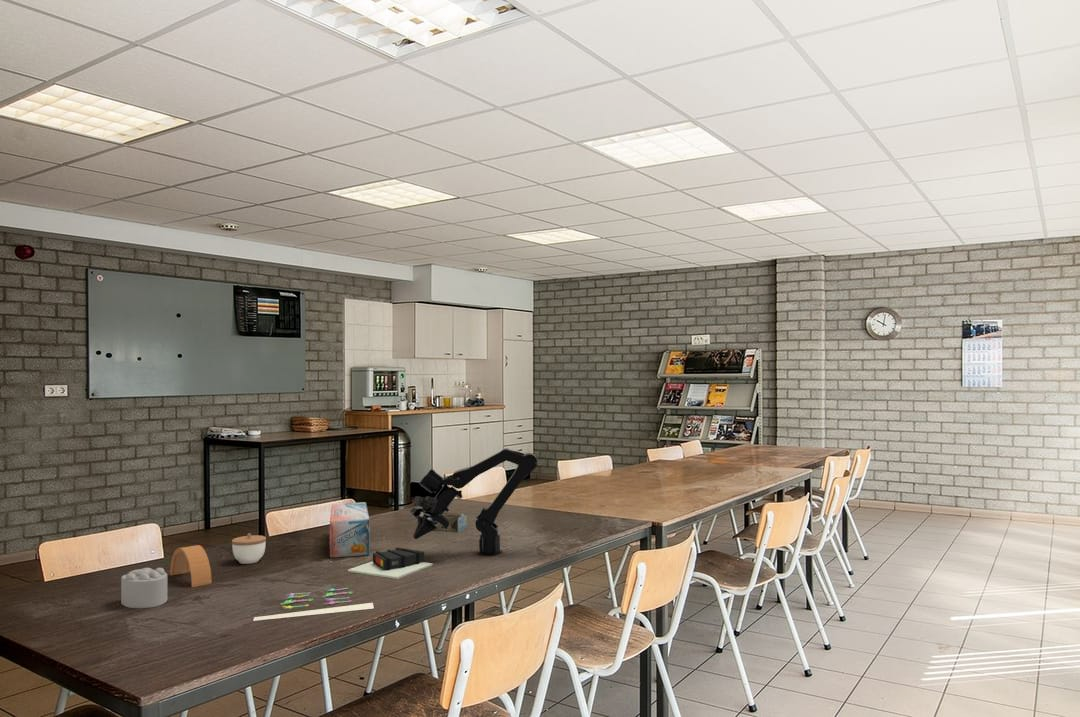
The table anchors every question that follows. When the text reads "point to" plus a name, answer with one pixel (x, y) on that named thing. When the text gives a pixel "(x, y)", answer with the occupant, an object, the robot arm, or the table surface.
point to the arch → (192, 564)
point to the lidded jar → (249, 548)
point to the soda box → (349, 530)
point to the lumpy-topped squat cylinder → (144, 588)
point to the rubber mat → (392, 573)
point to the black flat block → (397, 558)
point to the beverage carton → (454, 522)
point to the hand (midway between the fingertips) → (414, 538)
